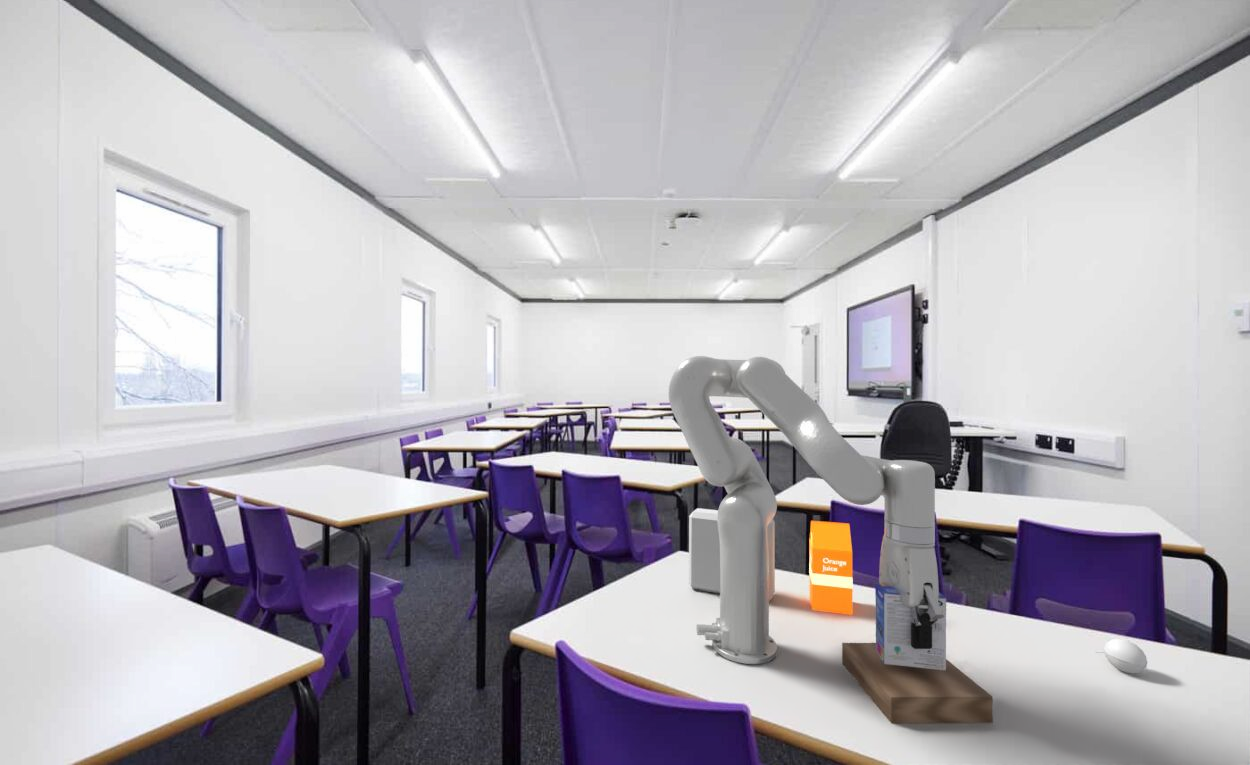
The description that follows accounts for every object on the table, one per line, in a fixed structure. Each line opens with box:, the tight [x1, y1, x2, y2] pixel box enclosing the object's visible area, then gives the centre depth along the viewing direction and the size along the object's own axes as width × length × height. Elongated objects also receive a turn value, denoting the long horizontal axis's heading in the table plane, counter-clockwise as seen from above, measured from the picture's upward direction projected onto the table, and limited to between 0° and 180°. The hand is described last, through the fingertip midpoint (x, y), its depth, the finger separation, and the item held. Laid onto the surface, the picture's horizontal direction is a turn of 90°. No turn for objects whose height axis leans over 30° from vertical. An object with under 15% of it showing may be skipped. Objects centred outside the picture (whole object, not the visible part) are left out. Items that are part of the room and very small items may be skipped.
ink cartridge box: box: [874, 581, 947, 670], centre depth 82 cm, size 10×6×14 cm, turn 80°
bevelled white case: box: [688, 507, 776, 602], centre depth 123 cm, size 21×8×20 cm, turn 66°
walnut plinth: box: [841, 642, 994, 724], centre depth 82 cm, size 16×16×4 cm
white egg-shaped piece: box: [1095, 638, 1148, 674], centre depth 89 cm, size 8×6×6 cm
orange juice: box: [808, 520, 854, 616], centre depth 115 cm, size 8×9×20 cm
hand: (908, 636), depth 82 cm, fingers closed on ink cartridge box, 6 cm apart
